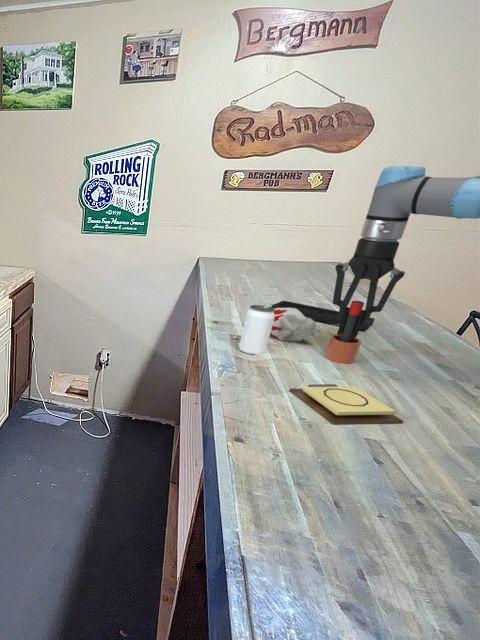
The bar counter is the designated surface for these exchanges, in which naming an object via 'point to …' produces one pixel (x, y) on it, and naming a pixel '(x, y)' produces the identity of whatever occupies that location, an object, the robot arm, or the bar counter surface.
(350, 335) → the marker
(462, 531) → the bar counter surface
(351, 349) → the pen cup
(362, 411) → the notepad
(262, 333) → the can
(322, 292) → the bar counter surface
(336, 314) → the black long bar
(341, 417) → the clipboard
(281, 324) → the grey lumpy piece
